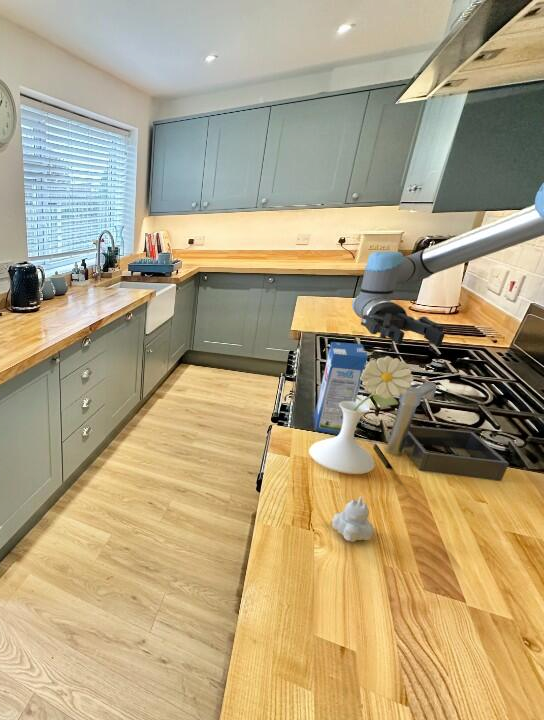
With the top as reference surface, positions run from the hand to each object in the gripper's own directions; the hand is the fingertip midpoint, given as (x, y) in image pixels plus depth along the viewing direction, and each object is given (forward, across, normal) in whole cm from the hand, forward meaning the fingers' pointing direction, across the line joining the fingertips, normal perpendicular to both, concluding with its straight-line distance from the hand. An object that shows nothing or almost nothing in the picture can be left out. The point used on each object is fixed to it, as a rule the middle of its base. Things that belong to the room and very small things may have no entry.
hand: (420, 339), depth 94 cm
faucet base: (+18, +6, -22) cm, 29 cm away
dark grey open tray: (+18, -2, -22) cm, 29 cm away
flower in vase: (+23, +16, -22) cm, 36 cm away
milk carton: (+4, +14, -22) cm, 27 cm away
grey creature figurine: (+47, +20, -22) cm, 56 cm away
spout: (+15, +4, -9) cm, 18 cm away
